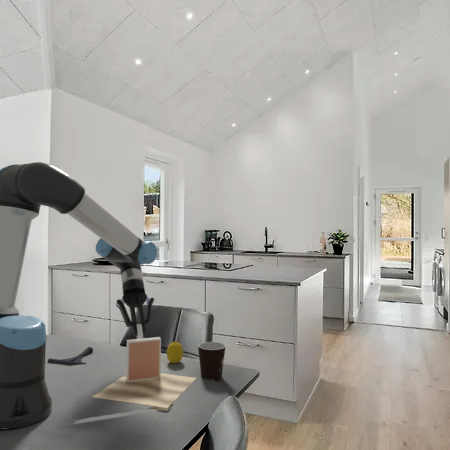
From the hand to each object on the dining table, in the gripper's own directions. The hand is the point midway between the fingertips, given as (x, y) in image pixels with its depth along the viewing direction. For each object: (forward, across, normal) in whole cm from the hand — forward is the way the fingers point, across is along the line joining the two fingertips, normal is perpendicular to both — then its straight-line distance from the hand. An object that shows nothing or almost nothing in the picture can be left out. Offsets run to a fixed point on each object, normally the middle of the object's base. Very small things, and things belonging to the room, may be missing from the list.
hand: (140, 344), depth 127 cm
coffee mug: (+13, -22, -1) cm, 25 cm away
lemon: (+3, -13, -11) cm, 17 cm away
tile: (+10, 0, -2) cm, 11 cm away
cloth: (+16, 0, +2) cm, 16 cm away
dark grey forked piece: (-10, +17, -25) cm, 32 cm away
